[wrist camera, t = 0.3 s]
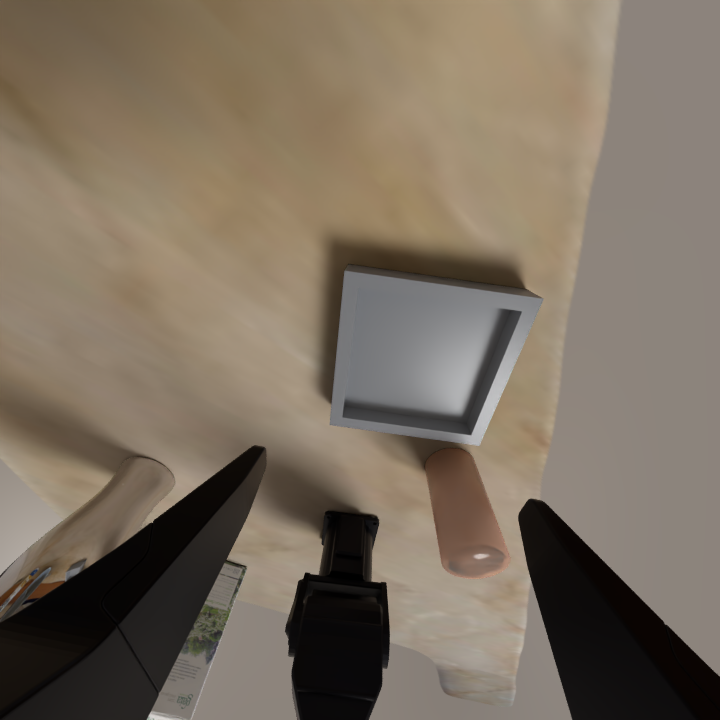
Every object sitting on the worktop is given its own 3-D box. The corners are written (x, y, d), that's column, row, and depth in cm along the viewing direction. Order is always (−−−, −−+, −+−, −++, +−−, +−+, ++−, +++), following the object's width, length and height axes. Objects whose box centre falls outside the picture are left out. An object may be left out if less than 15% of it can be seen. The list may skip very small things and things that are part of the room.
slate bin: (470, 426, 27) (479, 445, 25) (333, 407, 27) (329, 425, 25) (526, 289, 21) (543, 298, 18) (348, 264, 21) (344, 270, 18)
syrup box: (202, 573, 43) (127, 727, 30) (210, 554, 40) (131, 714, 28) (239, 583, 44) (181, 738, 31) (248, 566, 41) (189, 727, 28)
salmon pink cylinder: (466, 485, 31) (496, 582, 23) (420, 479, 31) (434, 573, 23) (481, 451, 28) (521, 546, 20) (431, 445, 28) (451, 537, 20)
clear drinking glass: (191, 483, 33) (67, 664, 20) (154, 501, 35) (19, 676, 22) (143, 444, 31) (-36, 623, 18) (105, 466, 33) (-80, 640, 20)
